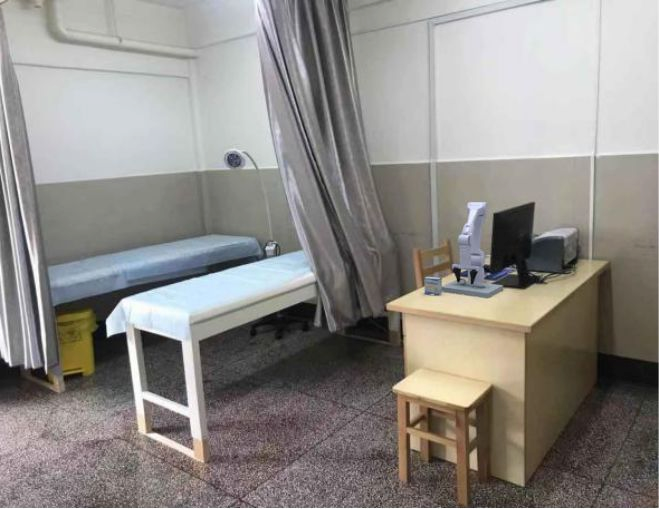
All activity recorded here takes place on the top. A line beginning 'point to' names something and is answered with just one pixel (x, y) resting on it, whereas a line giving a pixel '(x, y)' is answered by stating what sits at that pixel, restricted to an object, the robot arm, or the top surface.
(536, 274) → the top surface
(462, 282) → the ball
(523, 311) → the top surface
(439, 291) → the medicine box
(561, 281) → the top surface
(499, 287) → the deck
